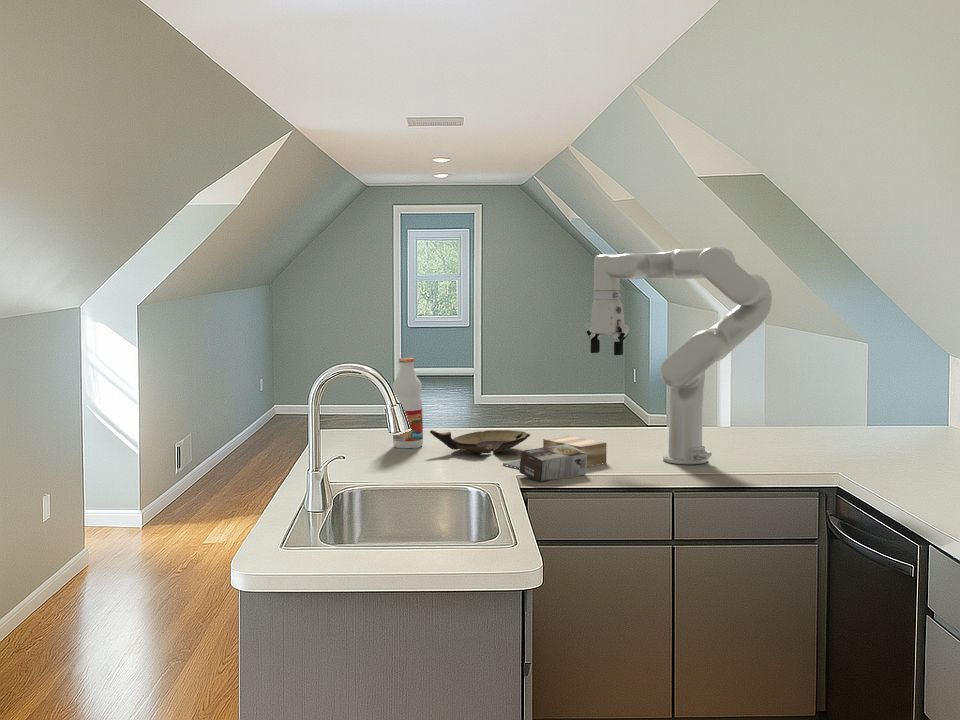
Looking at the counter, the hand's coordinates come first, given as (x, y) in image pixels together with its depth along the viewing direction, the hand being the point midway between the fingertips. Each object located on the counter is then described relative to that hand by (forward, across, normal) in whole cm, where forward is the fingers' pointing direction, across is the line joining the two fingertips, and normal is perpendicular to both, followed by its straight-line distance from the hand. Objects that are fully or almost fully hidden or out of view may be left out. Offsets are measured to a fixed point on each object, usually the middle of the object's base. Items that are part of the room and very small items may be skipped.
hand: (606, 353), depth 294 cm
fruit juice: (+30, +49, +39) cm, 70 cm away
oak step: (+30, -2, +15) cm, 34 cm away
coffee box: (+27, -13, +25) cm, 39 cm away
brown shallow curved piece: (+31, +28, +26) cm, 49 cm away
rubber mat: (+30, -2, +28) cm, 41 cm away
